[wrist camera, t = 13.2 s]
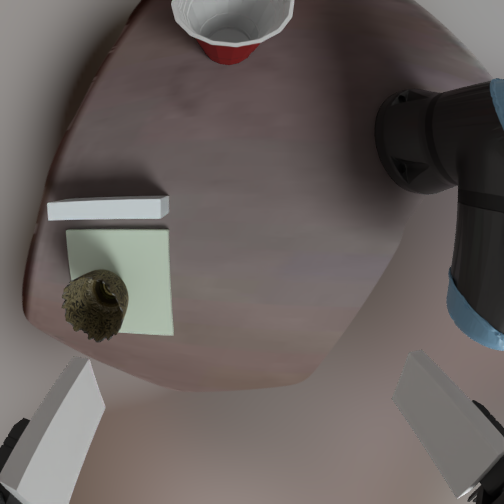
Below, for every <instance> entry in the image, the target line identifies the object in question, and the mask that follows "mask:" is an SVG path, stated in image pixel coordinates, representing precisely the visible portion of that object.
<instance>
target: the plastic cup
mask: <svg viewBox="0 0 504 504" xmlns="http://www.w3.org/2000/svg"><path fill="white" fill-rule="evenodd" d="M171 6H172V10H173V13H174V17H175V21H176V22H177V23H178V24H179V25H180V26H181V27H182V28H183V29H184V30H185V31H186V32H187V33H188V34H189V35H190V36H192V37H194V38H196V40H197V41H198V43H199V45H200V46H201V47H202V48H203V50H204V52H205V53H206V54H207V56H208V57H209V58H210V59H211V60H213V61H215V62H217V63H219V64H225V65H232V64H236V63H239V62H241V61H243V60H244V59H246V58H248V56H249V55H250V54H251V52H253V51H254V50H255V49H256V48H257V47H258V45H259V44H260V43H261V42H263V41H265V40H267V39H268V38H270V37H272V36H274V35H276V34H278V33H280V32H281V31H282V30H283V28H284V27H285V26H286V24H287V23H288V22H289V21H290V19H291V18H292V15H293V7H294V0H172V3H171Z"/></svg>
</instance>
